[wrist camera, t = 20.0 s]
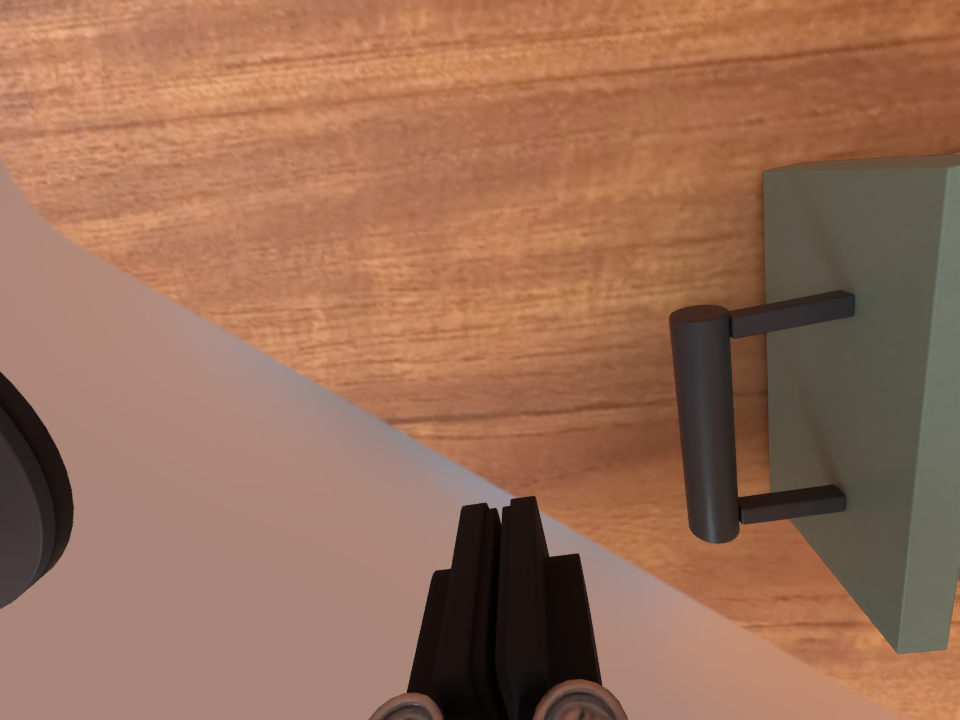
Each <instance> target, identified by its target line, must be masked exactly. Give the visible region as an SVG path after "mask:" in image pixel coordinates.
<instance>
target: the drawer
mask: <svg viewBox="0 0 960 720" xmlns="http://www.w3.org/2000/svg"><path fill="white" fill-rule="evenodd" d="M763 193H764V239H765V284H766V304H764V305H759V306H754V307H749V308H744V309H738V310H733V311H728V310H727V309H726V308H724V307H721V306H716V305H696V306H690V307H685V308H682V309H679V310H676V311H674V312H673V313H671V315H670V317H669V322H670V332H671V343H672V353H673V364H674V374H675V385H676V395H677V405H678V416H679V426H680V437H681V447H682V458H683V468H684V479H685V489H686V500H687V510H688V520H689V528H690V530H691V531H692V533H693V534H694V535H695V536H696V537H698V538H699V539H701V540H703V541H706V542H710V543H726V542H730V541H732V540H734V539H735V538H736V537H737V535H738V534H739V530H740V528H739V521H740V522H741V524H743V525H745V524H753V523H761V522H768V521H776V520H784V519H790V521H791V522H792V523H793V524H794V526H795V527H796V528H797V529H798V531H799V532H800V533H801V534H802V536H803V537H804V538H805V539H806V541H807V542H808V543H809V544H810V546H811V547H812V548H813V549H814V550H815V552H816V553H817V554H818V555H819V557H820V558H821V559H822V560H823V562H824V563H825V564H826V565H827V567H828V568H829V569H830V570H831V572H832V573H833V574H834V575H835V577H836V578H837V579H838V580H839V582H840V583H841V584H842V585H843V587H844V588H845V589H846V590H847V592H848V593H849V594H850V595H851V597H852V598H853V599H854V600H855V602H856V603H857V604H858V605H859V607H860V608H861V609H862V610H863V611H864V613H865V614H866V615H867V616H868V618H869V619H870V620H871V621H872V623H873V624H874V625H875V626H876V628H877V629H878V630H879V631H880V633H881V634H882V635H883V636H884V638H885V639H886V640H887V641H888V643H889V644H890V645H891V646H892V648H893V649H894V650H895V651H896V653H898V654H906V653H917V652H929V651H940V650H946V649H947V644H948V637H949V631H950V624H951V618H952V611H953V605H954V598H955V592H956V585H957V579H958V580H959V581H960V152H957V153H953V154H948V155H930V156H910V157H891V158H871V159H851V160H832V161H812V162H800V163H796V164H792V165H787V166H783V167H779V168H774V169H770V170H766V171H764V172H763ZM762 333H767V376H768V421H769V467H770V493H766V494H759V495H752V496H744V497H738V488H737V468H736V448H735V428H734V409H733V389H732V369H731V349H730V337H731V338H734V339H735V338H741V337H746V336H752V335H757V334H762Z"/></svg>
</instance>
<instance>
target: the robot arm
mask: <svg viewBox="0 0 960 720" xmlns="http://www.w3.org/2000/svg"><path fill="white" fill-rule="evenodd" d="M369 720H628V718H627V716H626V714H625V712H624V710H623V708H622V706H621V704H620V702H619V701H618V700H617V699H616V698H615V696H614V695H613V694H612V693H611V692H610V691H609V690H607V689H606V688H604V687H602V681H601V675H600V668H599V663H598V656H597V650H596V644H595V638H594V633H593V625H592V619H591V613H590V608H589V602H588V597H587V591H586V586H585V581H584V575H583V571H582V566H581V560H580V556H579V554H569V555H561V556H553V557H549V553H548V549H547V544H546V540H545V536H544V531H543V527H542V522H541V518H540V514H539V509H538V505H537V501H536V497H535V496H529V497H522V498H515V499H511V503H510V506H506V507H503V509H502V525H501V522H500V518H499V514H498V511H497V509H496V508H492V509H489V507H488V505H487V503H480V504H473V505H466V506H463V507H462V509H461V514H460V520H459V526H458V532H457V537H456V543H455V549H454V554H453V560H452V566H451V569H446V570H438V571H435V572H434V574H433V576H432V579H431V584H430V589H429V593H428V597H427V603H426V607H425V612H424V616H423V620H422V625H421V630H420V634H419V639H418V643H417V648H416V653H415V657H414V662H413V666H412V671H411V676H410V680H409V685H408V689H407V693H404V694H401V695H399V696H396V697H394V698H391V699H390V700H388V701H387V702H386V703H384V704H383V705H382V706H380V707H379V708H378V709H377V710H376V711H375V712H374V714H373V715H372V716H371V717H370V718H369Z"/></svg>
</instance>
